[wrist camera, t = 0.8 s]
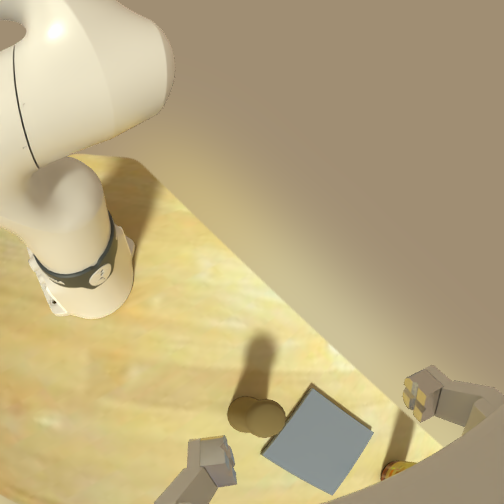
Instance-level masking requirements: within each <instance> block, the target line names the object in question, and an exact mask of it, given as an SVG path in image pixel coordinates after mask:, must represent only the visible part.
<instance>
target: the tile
mask: <svg viewBox="0 0 504 504" xmlns="http://www.w3.org/2000/svg"><path fill="white" fill-rule="evenodd" d="M373 433H374V432H372V431H371V430H369V429H368V428H366V427H365V426H364V425H362V424H361V423H359V422H358V421H357V420H355V419H354V418H352V417H351V416H350V415H348V414H347V413H345V412H344V411H343V410H341V409H340V408H339V407H337V406H336V405H335V404H333V403H332V402H331V401H329V400H328V399H327V398H325V397H324V396H323V395H321V394H320V393H319V392H317V391H316V390H315V389H313V388H310V389H309V391H308V392H307V394H306V395H305V397H304V398H303V399H302V401H301V402H300V404H299V405H298V406H297V408H296V409H295V411H294V412H293V413H292V415H291V416H290V417H289V419H288V420H287V421H286V423H285V425H284V427H283V429H282V430H281V431H280V432H279V433H278V434H276V435H275V437H274V438H273V439H272V441H271V442H270V443H269V444H268V445H267V447H266V448H265V449H264V450H263V452H262V453H261V455H262V456H264V457H266V458H267V459H269V460H270V461H272V462H273V463H275V464H277V465H278V466H280V467H281V468H283V469H285V470H286V471H288V472H290V473H291V474H293V475H295V476H297V477H298V478H300V479H302V480H304V481H306V482H307V483H309V484H311V485H313V486H315V487H317V488H318V489H320V490H322V491H324V492H326V493H328V494H330V495H333V494H334V493H335V491H336V490H337V489H338V487H339V486H340V485H341V483H342V482H343V480H344V479H345V478H346V476H347V475H348V473H349V472H350V470H351V469H352V467H353V466H354V464H355V463H356V461H357V460H358V458H359V457H360V455H361V453H362V452H363V450H364V449H365V447H366V445H367V444H368V442H369V440H370V439H371V437H372V435H373Z"/></svg>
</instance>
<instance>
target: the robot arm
mask: <svg viewBox="0 0 504 504" xmlns="http://www.w3.org/2000/svg"><path fill="white" fill-rule="evenodd" d="M0 20H11V21H15V22H18V23H20V24H22V25H23V26H24V27H25V28H26V35H25V37H24V38H23V39H22V40H21V41H20V42H18V43H16V44H15V45H13V46H11V47H9V48H7V49H4V50H2V51H0V227H1V228H3V229H6V230H8V231H10V232H12V233H14V234H15V235H17V236H18V237H19V238H20V239H21V240H22V241H23V242H24V243H25V244H26V246H27V249H28V253H29V256H30V259H29V260H28V262H29V264H30V267H31V268H32V270H33V271H34V272H36V275H37V278H38V280H39V283H40V285H41V288H42V290H43V292H44V295H45V297H46V299H47V302H48V304H49V306H50V308H51V311H52V312H53V313H54V315H56V316H67V315H74V316H78V317H81V318H86V319H96V318H101V317H105V316H107V315H109V314H111V313H113V312H114V311H116V310H117V309H118V308H119V307H120V306H121V305H122V304H123V303H124V302H125V300H126V299H127V297H128V296H129V293H130V291H131V288H132V285H133V266H132V258H133V255H134V251H135V244H134V242H133V240H131V239H130V238H129V237H127V236H126V235H125V234H124V231H123V229H122V227H121V226H117V225H116V224H115V223H114V221H113V218H112V216H111V214H110V212H109V211H108V209H107V206H106V201H105V197H104V192H103V188H102V184H101V181H100V179H99V178H98V176H97V175H96V173H95V172H94V171H93V170H92V169H91V168H90V167H88V166H87V165H85V164H84V163H82V162H81V161H79V160H77V159H75V158H72V157H67V156H68V155H71V154H73V153H75V152H78V151H80V150H83V149H86V148H88V147H91V146H93V145H96V144H99V143H101V142H104V141H107V140H110V139H112V138H114V137H116V136H118V135H120V134H121V133H123V132H125V131H127V130H129V129H131V128H133V127H135V126H137V125H138V124H140V123H142V122H144V121H146V120H148V119H150V118H151V117H153V116H155V115H157V114H158V113H159V112H160V111H161V109H162V108H163V106H164V105H165V103H166V101H167V99H168V97H169V95H170V92H171V89H172V86H173V82H174V76H175V58H174V53H173V50H172V47H171V44H170V42H169V40H168V38H167V37H166V35H165V34H164V32H163V31H162V30H161V29H160V28H159V27H158V26H157V25H156V24H155V23H154V22H153V21H151V20H149V19H147V18H145V17H143V16H141V15H139V14H137V13H135V12H133V11H131V10H130V9H128V8H126V7H125V6H123V5H122V4H121V3H119V2H118V1H117V0H0ZM54 301H56V304H54ZM404 385H405V386H406V388H405V390H404V391H403V400H404V403H405V405H406V406H407V408H408V409H411V410H414V411H413V415H414V416H415V417H416V418H417V420H418V421H419V422H420V423H421V422H423V421H425V420H427V419H429V418H430V417H432V416H434V415H435V416H436V417H439V418H442V419H444V420H447V421H450V422H452V423H455V424H458V425H461V426H463V427H465V428H464V431H463V433H462V436H461V437H460V438H458V439H457V440H455V441H454V442H452V443H450V444H449V445H447V446H446V447H444V448H443V449H441V450H439V451H438V452H436V453H434V454H433V455H431V456H429V457H428V458H426V459H424V460H422V461H420V462H419V463H417V464H415V465H413V466H411V467H409V468H407V469H405V470H403V471H401V472H399V473H397V474H395V475H393V476H391V477H389V478H387V479H385V480H382V481H380V482H378V483H376V484H373V485H371V486H369V487H366V488H364V489H361V490H359V491H356V492H353V493H351V494H348V495H345V496H342V497H340V498H337V499H334V500H331V501H328V502H324V503H321V504H504V395H503V394H502V393H500V392H499V391H498V390H497V389H495V388H494V387H490V386H483V385H478V384H472V383H466V382H460V381H453V382H452V381H451V380H450V379H449V378H448V377H447V376H446V375H445V374H443V373H442V372H441V371H440V370H439V369H438V368H436V367H435V366H434V365H431V366H429V367H427V368H425V369H423V370H421V371H419V372H417V373H415V374H413V375H411V376H409V377H407V378H406V379H405V381H404ZM234 465H235V462H234V457H233V453H232V450H231V448H230V446H229V445H227V439H226V437H225V435H222V436H215V437H207V438H200V439H191V440H189V442H188V457H187V468H184V469H183V470H182V471H181V472H180V473H179V475H178V476H177V477H176V478H175V479H174V480H173V482H172V483H171V484H170V485H169V486H168V487H167V488H166V490H165V491H164V492H163V493H162V494H161V495H160V496H159V497H158V498H157V500H156V501H155V502H154V504H209V502H210V501H211V499H212V497H213V496H214V494H215V492H216V491H217V489H218V488H217V487H224V486H230V485H236V484H237V480H236V472H235V470H234V468H233V467H234Z"/></svg>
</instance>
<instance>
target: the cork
mask: <svg viewBox="0 0 504 504" xmlns="http://www.w3.org/2000/svg"><path fill="white" fill-rule="evenodd" d="M227 416H228V421H229V423H230V425H231V426H232V427H233V428H234V429H236V430H238V431H240V432H245V433H252V434H254V435H256V436H258V437H262V438H267V437H272V436H274V435H276V434H278V433H279V432H280V431H281V430H282V429H283V427H284V425H285V421H286V416H285V412H284V410H283V408H282V407H281V406H280V405H279V404H278V403H277V402H275V401H273V400H268V399H263V400H257V399H255V398H253V397H248V396H246V397H240V398H238V399H236V400H235V401H234V402H232V403H231V405H230V407H229V408H228V413H227Z"/></svg>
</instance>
